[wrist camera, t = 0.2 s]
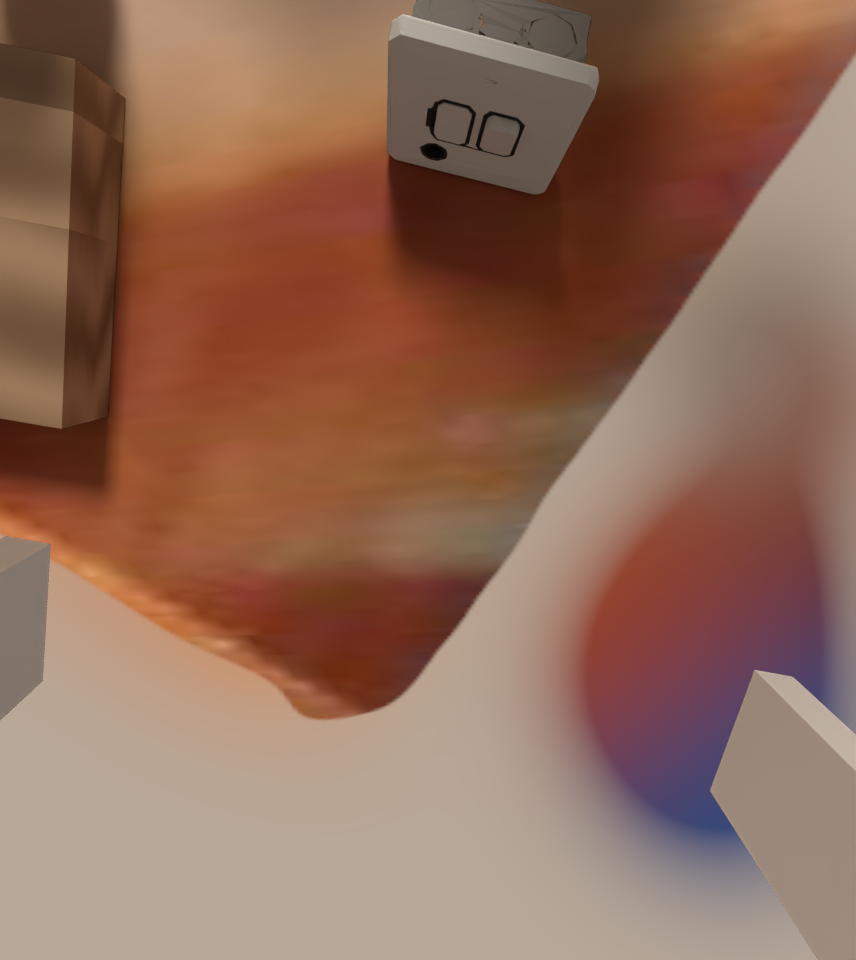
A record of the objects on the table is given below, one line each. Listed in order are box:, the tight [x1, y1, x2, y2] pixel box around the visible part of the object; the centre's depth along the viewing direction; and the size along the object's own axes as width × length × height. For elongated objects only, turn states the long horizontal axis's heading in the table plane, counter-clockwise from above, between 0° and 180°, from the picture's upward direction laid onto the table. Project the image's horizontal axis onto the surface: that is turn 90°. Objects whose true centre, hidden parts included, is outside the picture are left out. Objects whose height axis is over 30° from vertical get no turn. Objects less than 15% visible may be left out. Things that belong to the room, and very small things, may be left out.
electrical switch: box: [387, 0, 599, 195], centre depth 30 cm, size 9×5×9 cm, turn 77°
